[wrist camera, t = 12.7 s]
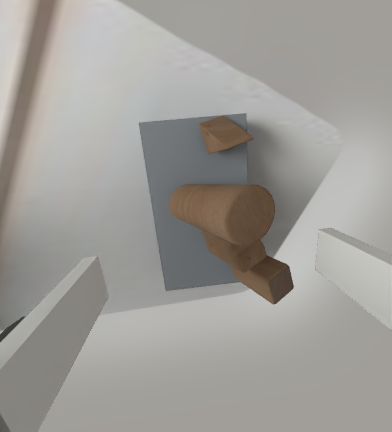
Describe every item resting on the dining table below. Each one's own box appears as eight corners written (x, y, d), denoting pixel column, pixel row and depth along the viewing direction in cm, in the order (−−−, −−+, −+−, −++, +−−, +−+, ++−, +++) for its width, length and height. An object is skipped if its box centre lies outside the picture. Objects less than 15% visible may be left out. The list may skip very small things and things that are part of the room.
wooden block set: (253, 254, 27) (332, 290, 18) (203, 290, 24) (267, 354, 15) (214, 120, 21) (300, 73, 12) (141, 145, 18) (184, 108, 9)
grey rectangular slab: (168, 273, 29) (165, 290, 25) (146, 129, 23) (138, 122, 19) (240, 264, 29) (249, 280, 25) (236, 120, 24) (246, 113, 20)
